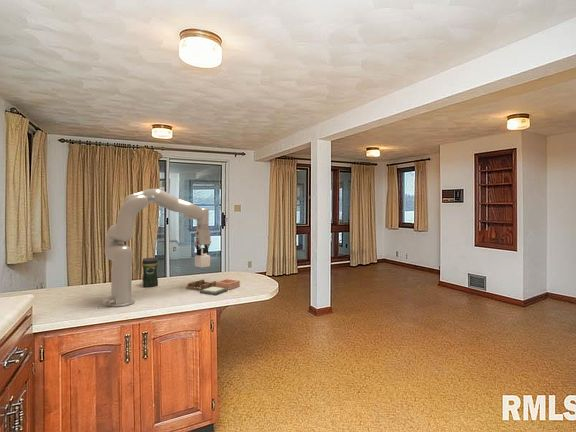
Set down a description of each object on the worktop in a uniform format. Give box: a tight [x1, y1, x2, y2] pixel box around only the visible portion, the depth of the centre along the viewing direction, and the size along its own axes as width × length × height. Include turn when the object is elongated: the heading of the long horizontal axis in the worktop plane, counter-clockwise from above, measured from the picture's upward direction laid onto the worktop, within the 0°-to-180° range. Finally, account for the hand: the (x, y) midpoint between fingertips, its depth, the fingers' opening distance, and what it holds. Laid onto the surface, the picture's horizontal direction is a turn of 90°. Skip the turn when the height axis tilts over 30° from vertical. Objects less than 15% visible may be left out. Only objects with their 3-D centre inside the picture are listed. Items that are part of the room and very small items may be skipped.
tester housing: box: [199, 288, 229, 296], centre depth 205 cm, size 12×12×2 cm
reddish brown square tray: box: [215, 278, 241, 291], centre depth 218 cm, size 11×11×4 cm
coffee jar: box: [141, 257, 159, 288], centre depth 220 cm, size 10×8×19 cm
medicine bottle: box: [194, 247, 211, 269], centre depth 218 cm, size 7×7×12 cm
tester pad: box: [203, 286, 224, 292], centre depth 205 cm, size 9×9×1 cm
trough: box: [185, 279, 217, 292], centre depth 218 cm, size 17×12×3 cm
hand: (202, 254), depth 218 cm, fingers closed on medicine bottle, 6 cm apart
